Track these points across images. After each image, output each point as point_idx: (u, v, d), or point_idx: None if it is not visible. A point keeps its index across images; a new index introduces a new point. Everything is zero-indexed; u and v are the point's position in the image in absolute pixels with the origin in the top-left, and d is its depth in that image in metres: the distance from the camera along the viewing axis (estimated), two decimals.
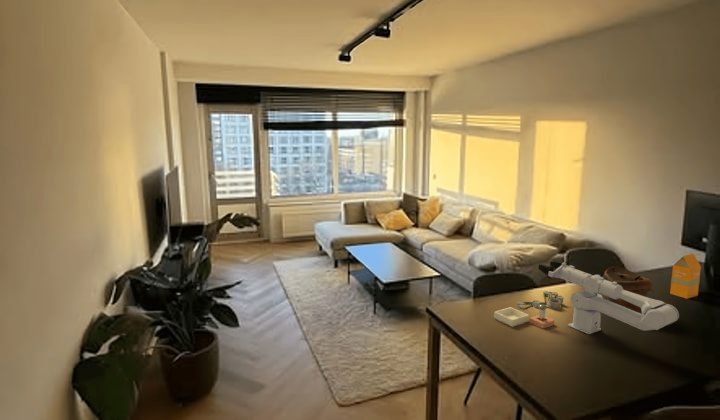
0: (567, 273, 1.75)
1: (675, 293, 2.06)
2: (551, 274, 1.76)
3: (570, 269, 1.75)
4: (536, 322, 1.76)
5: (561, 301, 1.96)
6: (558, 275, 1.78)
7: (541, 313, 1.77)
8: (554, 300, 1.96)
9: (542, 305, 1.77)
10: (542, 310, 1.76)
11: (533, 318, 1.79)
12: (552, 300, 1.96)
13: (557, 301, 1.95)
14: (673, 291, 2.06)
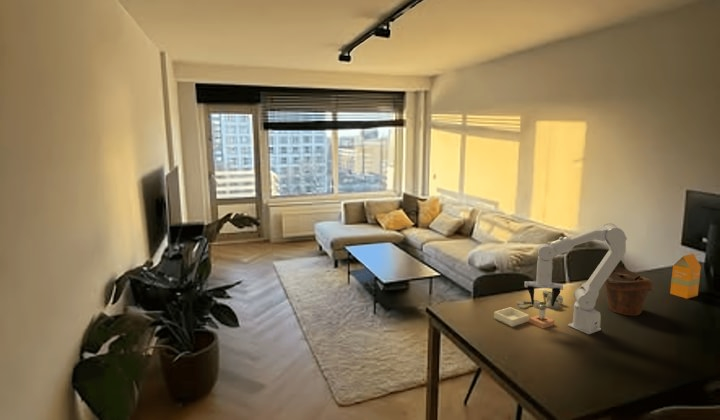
0: (551, 276, 1.73)
1: (675, 293, 2.06)
2: (562, 286, 1.73)
3: (547, 277, 1.72)
4: (536, 322, 1.76)
5: (561, 301, 1.97)
6: (550, 283, 1.76)
7: (541, 313, 1.77)
8: None
9: (542, 305, 1.77)
10: (542, 310, 1.76)
11: (533, 318, 1.79)
12: None
13: (557, 301, 1.95)
14: (673, 291, 2.06)
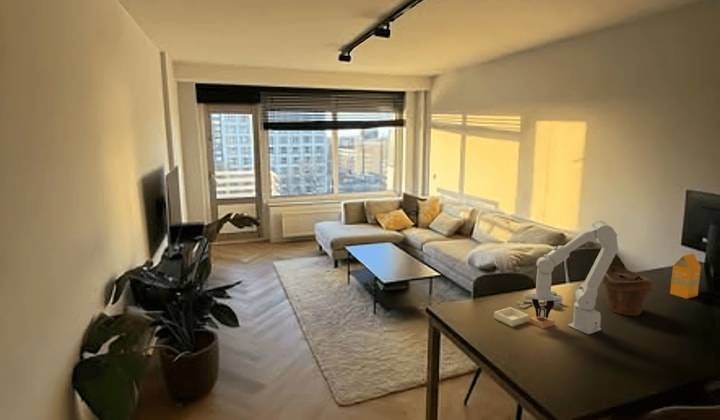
0: (550, 289, 1.74)
1: (675, 293, 2.06)
2: None
3: (547, 290, 1.73)
4: (536, 322, 1.76)
5: None
6: None
7: (541, 313, 1.77)
8: None
9: (542, 305, 1.77)
10: (542, 310, 1.76)
11: (533, 318, 1.79)
12: None
13: None
14: (673, 291, 2.06)
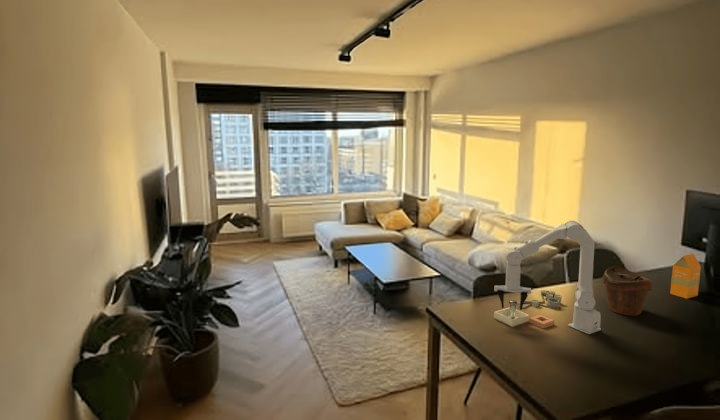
0: (519, 281, 1.78)
1: (675, 293, 2.06)
2: (530, 290, 1.78)
3: (515, 281, 1.77)
4: (536, 322, 1.76)
5: (559, 300, 1.98)
6: (519, 287, 1.80)
7: (511, 309, 1.80)
8: (552, 299, 1.97)
9: (512, 301, 1.81)
10: (512, 306, 1.80)
11: (533, 318, 1.79)
12: (550, 299, 1.97)
13: (555, 300, 1.96)
14: (673, 291, 2.06)
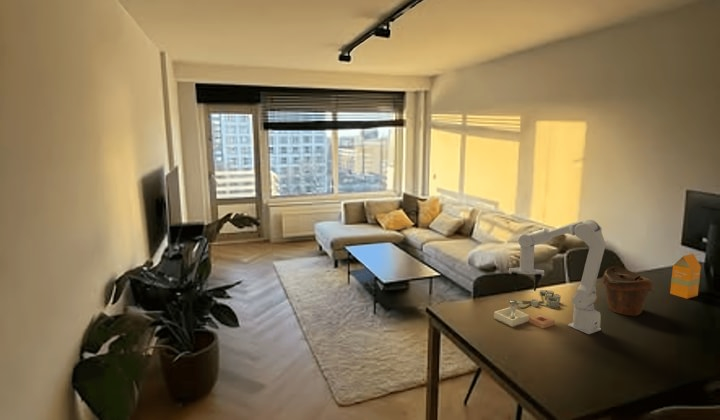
0: (533, 263, 1.86)
1: (675, 293, 2.06)
2: (543, 272, 1.86)
3: (529, 263, 1.85)
4: (536, 322, 1.76)
5: (558, 299, 1.98)
6: (533, 269, 1.89)
7: (511, 309, 1.80)
8: (552, 299, 1.98)
9: (512, 301, 1.81)
10: (512, 306, 1.80)
11: (533, 318, 1.79)
12: (550, 299, 1.98)
13: (555, 300, 1.97)
14: (673, 291, 2.06)
